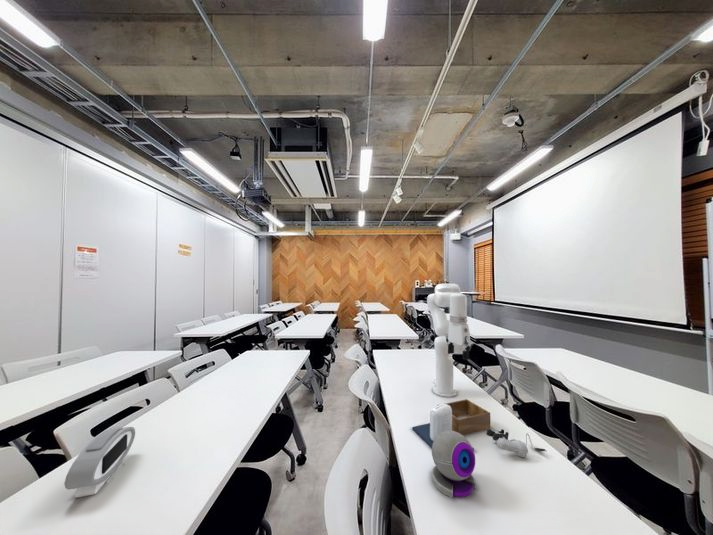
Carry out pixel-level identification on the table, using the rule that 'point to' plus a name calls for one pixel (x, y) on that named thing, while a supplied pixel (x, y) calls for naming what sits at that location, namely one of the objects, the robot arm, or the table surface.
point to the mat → (425, 433)
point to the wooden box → (469, 424)
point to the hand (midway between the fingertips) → (458, 356)
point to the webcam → (453, 464)
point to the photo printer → (440, 420)
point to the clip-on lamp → (510, 442)
